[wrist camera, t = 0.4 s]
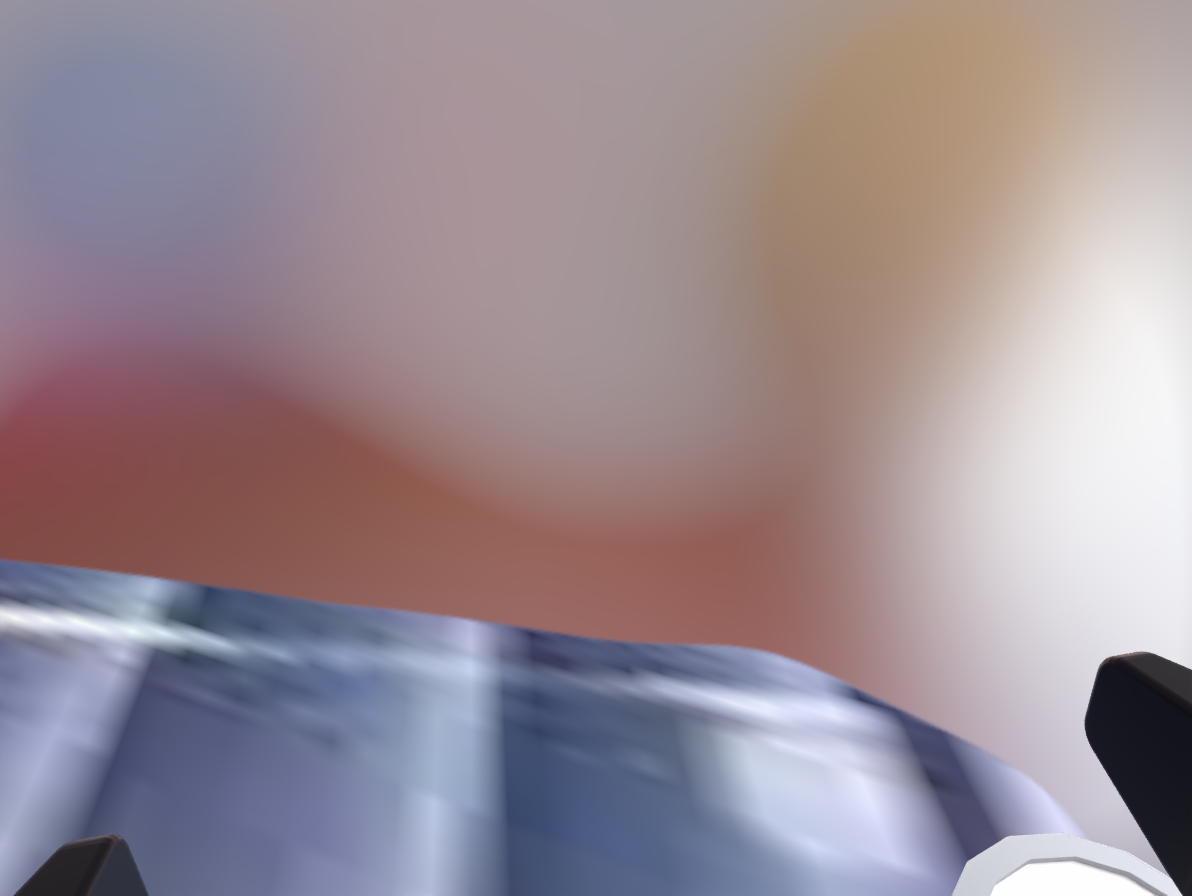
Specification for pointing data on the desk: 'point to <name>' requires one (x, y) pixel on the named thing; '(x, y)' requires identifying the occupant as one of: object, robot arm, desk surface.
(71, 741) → the desk surface
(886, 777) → the desk surface
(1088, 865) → the white cylinder
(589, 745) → the desk surface
